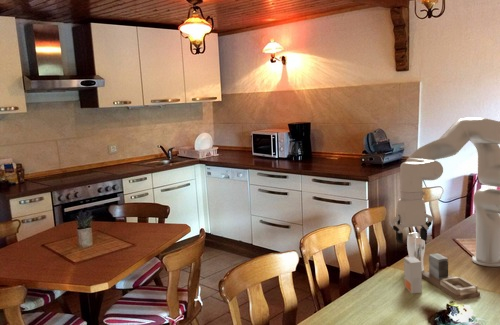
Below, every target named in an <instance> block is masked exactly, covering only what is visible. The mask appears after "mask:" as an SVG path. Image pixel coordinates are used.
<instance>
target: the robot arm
mask: <svg viewBox="0 0 500 325" xmlns="http://www.w3.org/2000/svg"><path fill="white" fill-rule="evenodd" d="M469 141H470V142H471V143H472V144H473V146H474V148H475V149H476V153H477V179H478V182H479V183H480V184H482V185H485V186H488V188H487V187H486V188H485V187H484V188H479V189H477V190H476V191H475V192H474V194H473V198H472V199H473V206H474V210H475V255H472V257H471V261H472V262H473V263H474V264H476V265H479V266H484V267H490V268H491V267H492V268H497V267H500V215H499V214H500V189H496V188H500V121H499V120H495V119H490V118H487V117H486V118H485V117H464V118H459V119H457V120H456V121H455V122H454V123H453V124H452V125H451V126H450V127H449V128H448V129H447V130H446V131H445V132H444V133H443V134H442V135H441V136H440V137H439V138H438V139H436V140H433V141H431V142H428V143H426V144H425V145H422V146H421V147H418V148H417V149H416V150H414V151H413V152H412V153H411V154H410V155H409V157H407V159H406V160H405V161H404V162H402V163H401V164H400V168H399V169H400V172H399V175H400V198H399V199H397V204H396V212H395V217H393V218H392V219H390V220H389V223H388V224H389V225H390V227H391V229H392V230H394V232H395V240H396V243H399V244H401V245H402V244H403V243H404V240H403V239H404V234H403V232H402V231H404V230H405V228H413V227H421V228H420V229H419V230H420V231H419V233H420V238H421V239H422V240H425V242H426V241H427V240H428V230H429V229H430V227H431V226H432V223H433V221H434V219H435V218H434V216H432V215H429V214H427V208H426V207H427V206H426V203H425V199H424V198H423V197H424V196H425V195H426V191H423V181H435V180H438V179H440V178H441V177H442V175H443V173H444V168H443V165H442V163H441V162H439V161H438V160H440V159H446V158H447V159H448V158H450V157H454V156H455V155H456V154H458V153H459V152H460V151H461V150H462V149H463V147H465V145H466V144H467V143H468V142H469ZM489 186H490V187H495V188H489Z"/></svg>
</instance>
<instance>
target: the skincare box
mask: <svg viewBox="0 0 500 325" xmlns="http://www.w3.org/2000/svg"><path fill="white" fill-rule="evenodd" d="M403 263H404V264H403V265H404V266H403V268H404V270H403V271H404V288H405V289H406V290H407V291H408V292H409V293H410V294H413V295H414V294H421V293H423V278H422V267H421V261H419V260H418V259H417V258H415V257H409V256H407V257H406V256H405V257H403Z"/></svg>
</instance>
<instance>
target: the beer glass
mask: <svg viewBox="0 0 500 325" xmlns="http://www.w3.org/2000/svg"><path fill="white" fill-rule="evenodd" d="M406 237H407V238H406V239H407V240H406V245H407V246H406V248H407V253H408V257H415V258H417V259H418V260H419V261H421V267H422V272H425V267H424V257H425V250H426V241H425V240H422V239H421V238H420V232H409V233H407V236H406Z"/></svg>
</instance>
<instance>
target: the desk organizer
mask: <svg viewBox="0 0 500 325" xmlns="http://www.w3.org/2000/svg"><path fill="white" fill-rule="evenodd" d="M448 259H449V258H448V257H446V256H443V255H442V254H440V253H431V254H430V253H429V254H428V270H429V271H428V270H427V271H423V272H422V279H424V280H425V281H427V282H429V283H430V284H432V286H434V287H436V288H438V289H439V290H441V291H442V292H444V293H445V294H447V295H449V296H450V297H452V298H453V299H455V300H457V301H462V300H466V299H473V298H479V297H481V291H479V290H478V288H479V286H478V285H477V284H475V283H473V282H471V281H469V280H467V279H466V278H463V277H462V276H452V275H450V274H449V261H448Z"/></svg>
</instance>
